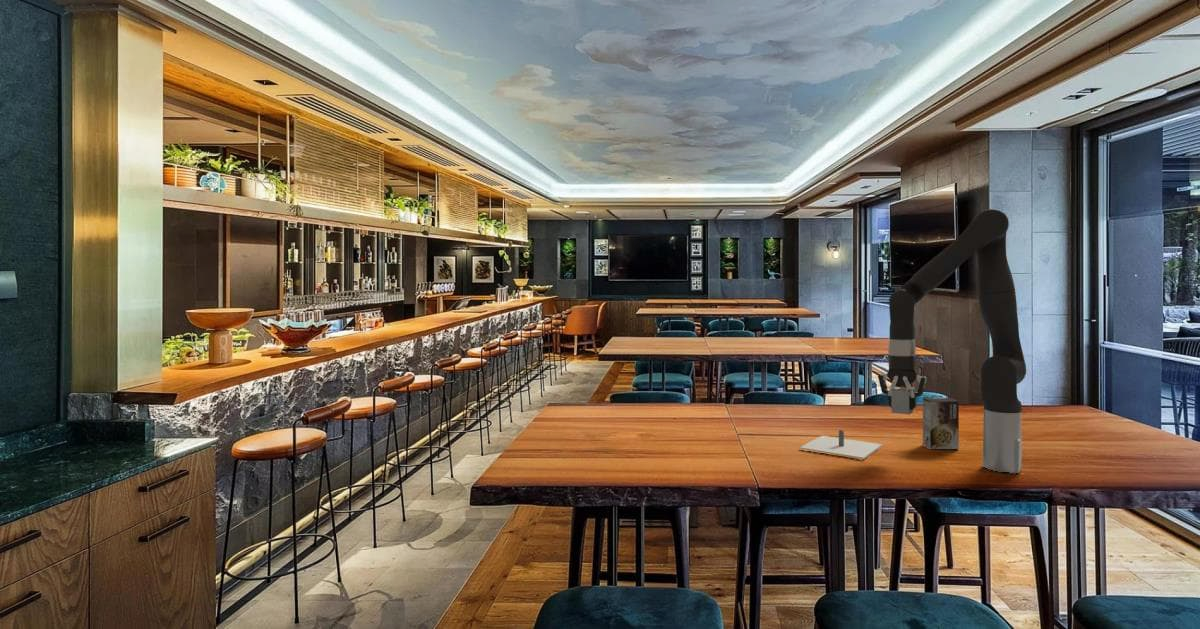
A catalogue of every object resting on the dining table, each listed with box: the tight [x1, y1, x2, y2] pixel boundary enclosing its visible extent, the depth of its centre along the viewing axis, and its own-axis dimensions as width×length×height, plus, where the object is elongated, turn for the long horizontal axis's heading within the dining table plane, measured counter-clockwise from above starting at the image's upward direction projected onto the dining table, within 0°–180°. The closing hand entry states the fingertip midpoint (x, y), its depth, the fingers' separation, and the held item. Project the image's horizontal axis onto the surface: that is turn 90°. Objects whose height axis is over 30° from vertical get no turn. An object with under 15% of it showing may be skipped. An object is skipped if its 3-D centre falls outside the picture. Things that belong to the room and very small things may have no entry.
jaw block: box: [891, 387, 914, 415], centre depth 196 cm, size 5×5×7 cm
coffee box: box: [922, 397, 960, 450], centre depth 207 cm, size 9×6×16 cm
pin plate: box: [799, 429, 883, 460], centre depth 207 cm, size 20×20×6 cm
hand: (902, 408), depth 196 cm, fingers closed on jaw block, 5 cm apart
